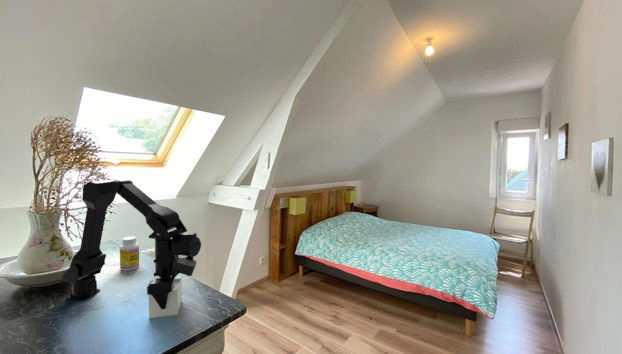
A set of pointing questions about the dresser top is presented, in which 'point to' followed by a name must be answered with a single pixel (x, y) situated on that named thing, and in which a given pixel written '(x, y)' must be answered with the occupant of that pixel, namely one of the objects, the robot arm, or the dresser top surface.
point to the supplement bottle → (129, 254)
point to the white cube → (172, 302)
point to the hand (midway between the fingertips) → (166, 301)
